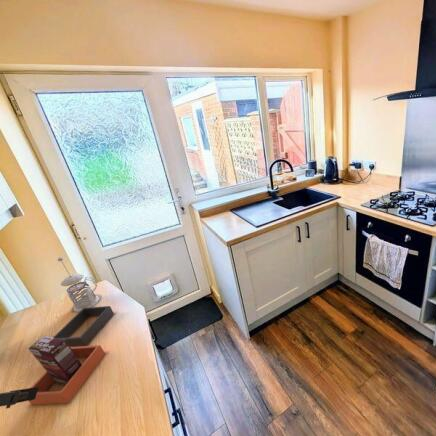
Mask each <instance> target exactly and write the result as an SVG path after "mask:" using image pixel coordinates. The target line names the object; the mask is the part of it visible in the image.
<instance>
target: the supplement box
mask: <svg viewBox="0 0 436 436" xmlns="http://www.w3.org/2000/svg"><path fill="white" fill-rule="evenodd" d="M28 351H29V352H30V353H31V354H32V355H33V357H34V358H35V359H36V360H37V361H38V362H39V364H40V365H41V366H42V368H43V369H44V370H45V372H46V371H47V372H48V373H49V375H50V376H51V377H52V378H53V379H54V382H57V383H61V384H65V385H66V384H67V383H68V382H69V380H70V379H71V378H72V377H73V375H74V374H75V373H76V372H77V370H78V369H79V368H80V367H81V366H82V364H83V363H82V362H81V360H80V359H79V357H77V356H76V355H75V354H74V352H73V351H72V349H71V348H70V346H69V345H68V344H67V342H66V341H65V340H64V339H57V338H53V337H51V336H47V335H43V336H42V337H41V338H40V339H38V340H37V341H35V342H34V343H33V344H31V345H30V346H29V347H28Z"/></svg>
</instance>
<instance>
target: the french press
mask: <svg viewBox="0 0 436 436" xmlns="http://www.w3.org/2000/svg"><path fill="white" fill-rule="evenodd" d="M64 259H65V258H64V257H62V256H60V257H58V258H57V259H56V260H57V261H58V262H61V263H62V265H63V267H64V268H65V270H66V272H67V274H68V275H69V276H67V277H64V279H63V280H62V281H60V286H61V287H67V289H66V292H67V296H68V297H69V299H70V301H71V302H72V304H73V311H74V312H77V313H79V312H80V311H81V310H82V309H83V308H89V307H94V306H95V305H96V304H97V303H99V301H100V297H99V296H98V295H96V294H95V291H96V289H97V287H98V283H97V280H95V279H94V278H93V277H88V276H86V277H84V273H74V274H70V272H69V270H68V269H67V267H66V266H65V264H64V262H63V261H64ZM82 279H84V280H83V281H82ZM87 281H91V282H92V283H93V284H94V286H95V287H94V288H93V289H92V288H91V286H90V284H89V283H87Z"/></svg>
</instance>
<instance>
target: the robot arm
mask: <svg viewBox="0 0 436 436" xmlns="http://www.w3.org/2000/svg"><path fill="white" fill-rule="evenodd" d="M38 389H39V387H34V388H31V387H29V388H22V389H15V390H10V391H8V392H0V407H5V409H6V410H7V409H10V408H11V406H14V405H15V406H16V404H18V403H24V402H29V400H34V399H35V397H36V394H37V392H38Z"/></svg>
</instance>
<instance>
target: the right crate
mask: <svg viewBox="0 0 436 436" xmlns="http://www.w3.org/2000/svg"><path fill="white" fill-rule="evenodd" d="M114 315H115V313H114V310H113V309H112V307H111V306H110V305H105V306H104V305H103V306H92V307H89V308H83V309H82V310H81V311H79V312H77V313H76V314H75V315H74V316H73V317H72V318H71V319H70V320H69V321H68V322H67V323H65V325H64V326H62V328H61V329H60V330H59V331H57V333H55V335H54V336H52V338H57V339H64V340H65V341H66V342H67V344H68V345H69V346H70V347H79V346H89V344H90V343H91V342H92V341H93V339H94V338H95V337H96V336H97V335H98V334H99V332H100V331H101V330H102V329H103V328H104V326H105V325H107V324H108V322H109V321H110V320H111V318H112V317H113V316H114ZM93 317H97V318H96V319H94V320H93V322H92V323H91V324H90V325H89V326H88V327H87V329H85V330H84V332H83V333H82V334H81V335H80V336H72V335H73V334H74V333H75V332H76V331H77V330H78V329H79V328H80V327H81V326H82V325H83V324H84V323H85V322H86V320H87V319H89V318H93Z"/></svg>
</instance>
